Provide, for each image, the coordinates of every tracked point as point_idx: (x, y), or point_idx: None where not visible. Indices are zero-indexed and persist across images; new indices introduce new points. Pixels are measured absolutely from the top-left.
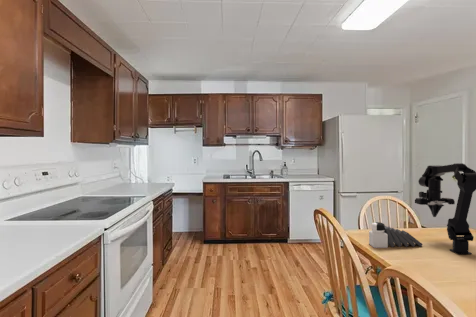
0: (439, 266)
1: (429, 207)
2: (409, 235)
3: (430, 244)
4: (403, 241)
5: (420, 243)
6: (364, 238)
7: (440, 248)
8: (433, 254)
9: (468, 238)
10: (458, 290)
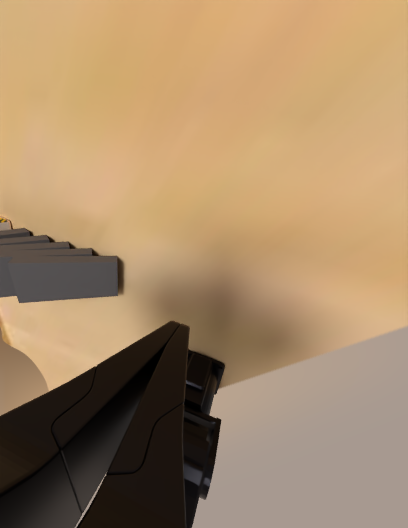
0: None
1: (5, 423)
2: (40, 298)
3: (168, 280)
4: None
5: (107, 294)
6: None
7: None
8: (114, 345)
9: (209, 436)
10: None
